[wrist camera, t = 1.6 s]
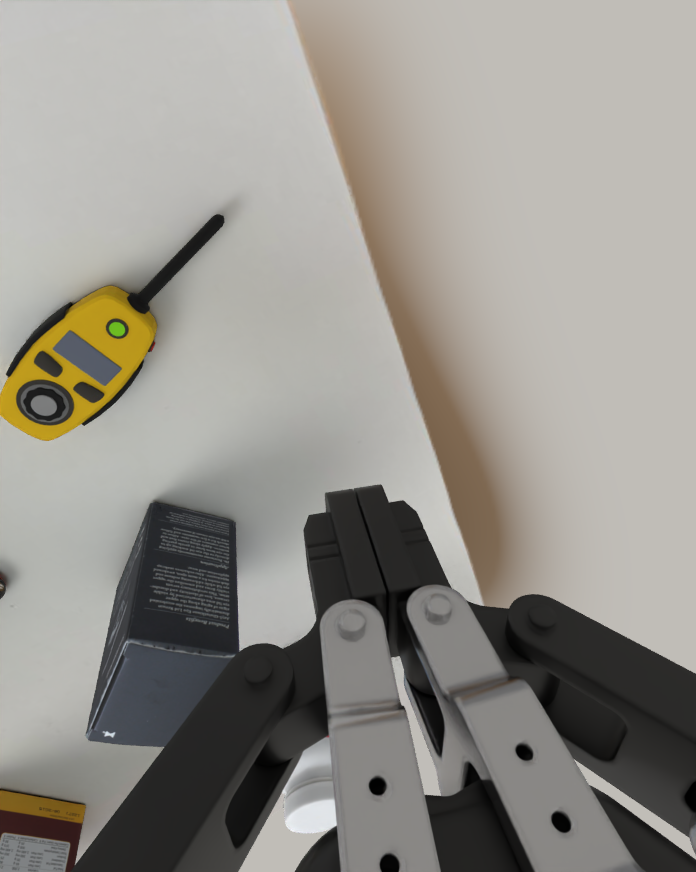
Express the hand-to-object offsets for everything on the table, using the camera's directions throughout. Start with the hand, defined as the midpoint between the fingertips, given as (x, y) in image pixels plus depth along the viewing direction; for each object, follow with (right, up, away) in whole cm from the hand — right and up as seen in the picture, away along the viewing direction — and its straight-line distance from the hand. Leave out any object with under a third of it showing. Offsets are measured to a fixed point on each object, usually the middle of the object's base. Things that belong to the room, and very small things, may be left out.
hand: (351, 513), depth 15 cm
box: (-12, -5, +21) cm, 25 cm away
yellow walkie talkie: (-12, +8, +13) cm, 19 cm away
